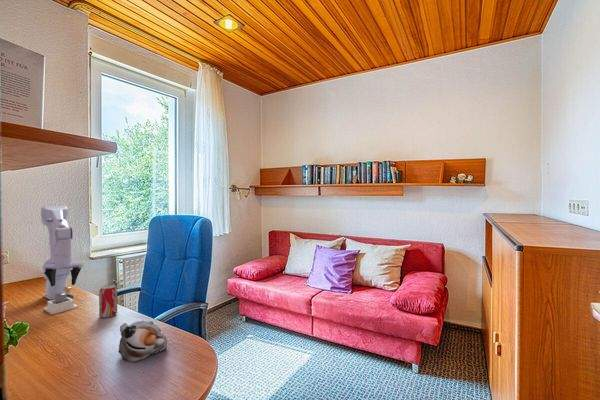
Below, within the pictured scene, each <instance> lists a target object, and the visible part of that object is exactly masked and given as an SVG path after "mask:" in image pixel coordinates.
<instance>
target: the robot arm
mask: <svg viewBox="0 0 600 400" xmlns="http://www.w3.org/2000/svg"><path fill="white" fill-rule="evenodd" d="M40 215H41V216H40V217H41V223H42V225H43V226H46V227H47V230H48V240H49V244H48V245H49V256H50V258H49V259H47V260H46V261H45V262H44V263H43V265H42V271H43V279H45V280H46V281H45V294H43V297H44V298H45V299H48V300H49V301H52V300H55V294H58V293H65V290H63V288H64V287H68V284H67V281H68V280H67V279H68V277H69V276H70V275H71V286H74V285H76V283H77V278H78V276H79V273H80V272H81V270H82V269H83V268H84V263H83V262H72V240H73V238H74V237H73V236H74V231H73V227H72V226H69V223H68V221H67V220H68V218H67V217H68V207H67V206H66V205H63V206H61V205H59V206H58V205H57V206H54V205H53V206H44V205H43V206H42V207H40Z"/></svg>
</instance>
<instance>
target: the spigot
mask: <svg viewBox="0 0 600 400" xmlns="http://www.w3.org/2000/svg"><path fill="white" fill-rule="evenodd" d="M54 300H55V304H58V303H62V302H66V301H67V300H66V293H58V294H55V299H54Z"/></svg>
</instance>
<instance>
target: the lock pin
mask: <svg viewBox="0 0 600 400" xmlns="http://www.w3.org/2000/svg"><path fill="white" fill-rule="evenodd" d="M72 289H73V285H67V287H64V288H63V290H65V293H66V297H69V296H70V294H71V290H72Z"/></svg>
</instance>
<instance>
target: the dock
mask: <svg viewBox="0 0 600 400" xmlns="http://www.w3.org/2000/svg"><path fill="white" fill-rule="evenodd" d="M66 300H67V301H66V302H62V303H58V304H55V299H52V300H48V301H47V306H45V307H43V310H44V311H46V312H47V313H48V314H50V315H55V314H59V313H62V312H66V311H70V310H74V309H78V308H79V306H78V305H77V304H76V303H75V300H74V295H73V294H71V293H70V296H69V297H66Z"/></svg>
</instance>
